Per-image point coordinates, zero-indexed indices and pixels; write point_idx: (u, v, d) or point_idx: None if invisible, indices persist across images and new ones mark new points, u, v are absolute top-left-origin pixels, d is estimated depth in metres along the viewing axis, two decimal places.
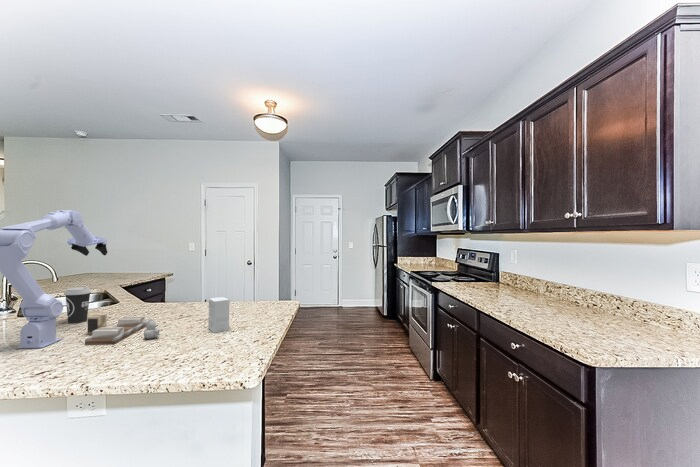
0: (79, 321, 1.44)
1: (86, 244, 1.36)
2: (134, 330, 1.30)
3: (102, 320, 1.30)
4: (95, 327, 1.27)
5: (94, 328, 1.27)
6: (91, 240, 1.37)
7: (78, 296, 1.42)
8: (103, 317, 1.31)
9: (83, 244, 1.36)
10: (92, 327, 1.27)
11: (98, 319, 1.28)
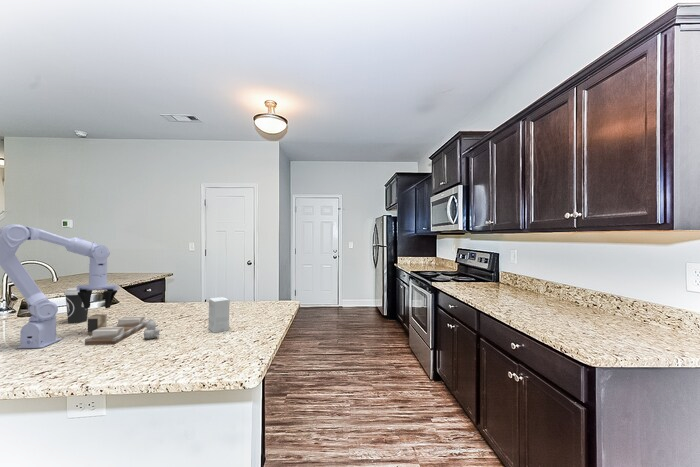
0: (79, 321, 1.44)
1: (97, 286, 1.28)
2: (134, 330, 1.30)
3: (102, 320, 1.30)
4: (95, 327, 1.27)
5: (94, 328, 1.27)
6: (104, 284, 1.30)
7: (78, 296, 1.42)
8: (103, 317, 1.31)
9: (94, 285, 1.27)
10: (92, 327, 1.27)
11: (98, 319, 1.28)
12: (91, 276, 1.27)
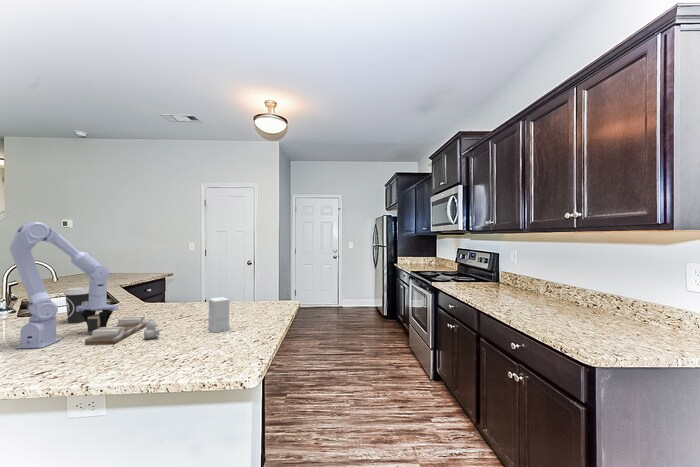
0: (79, 321, 1.44)
1: (96, 307, 1.28)
2: (134, 330, 1.30)
3: None
4: (95, 327, 1.27)
5: (94, 328, 1.27)
6: (103, 304, 1.30)
7: (78, 296, 1.42)
8: None
9: (94, 306, 1.27)
10: (92, 327, 1.27)
11: (98, 319, 1.28)
12: (91, 297, 1.27)
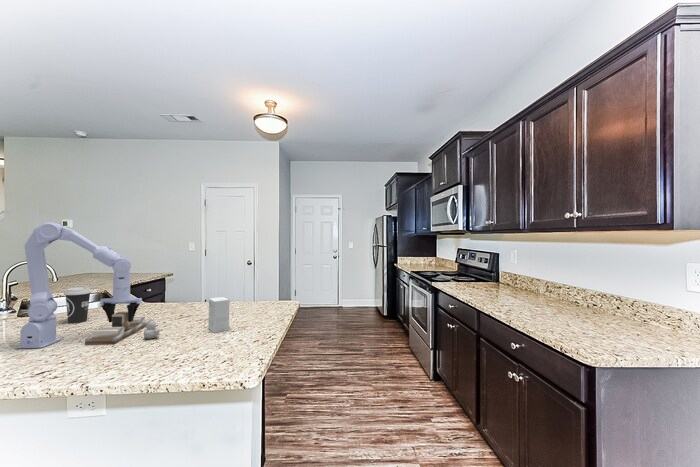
0: (79, 321, 1.44)
1: (121, 299, 1.27)
2: (134, 330, 1.30)
3: (126, 318, 1.30)
4: (119, 325, 1.26)
5: (118, 326, 1.26)
6: (127, 297, 1.29)
7: (78, 296, 1.42)
8: (127, 315, 1.30)
9: (118, 299, 1.27)
10: (116, 325, 1.26)
11: (122, 317, 1.27)
12: (115, 290, 1.27)
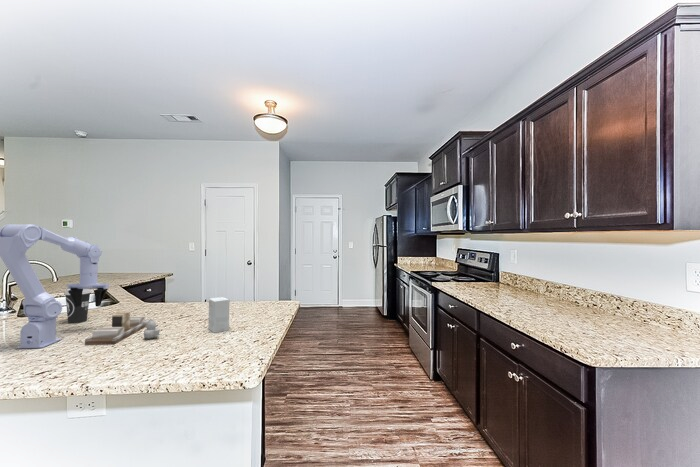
0: (79, 321, 1.44)
1: (87, 284, 1.31)
2: (134, 330, 1.30)
3: (126, 318, 1.30)
4: (119, 325, 1.26)
5: (118, 326, 1.26)
6: (94, 283, 1.33)
7: None
8: (127, 315, 1.30)
9: (84, 284, 1.31)
10: (116, 325, 1.26)
11: (122, 317, 1.27)
12: (82, 275, 1.31)
